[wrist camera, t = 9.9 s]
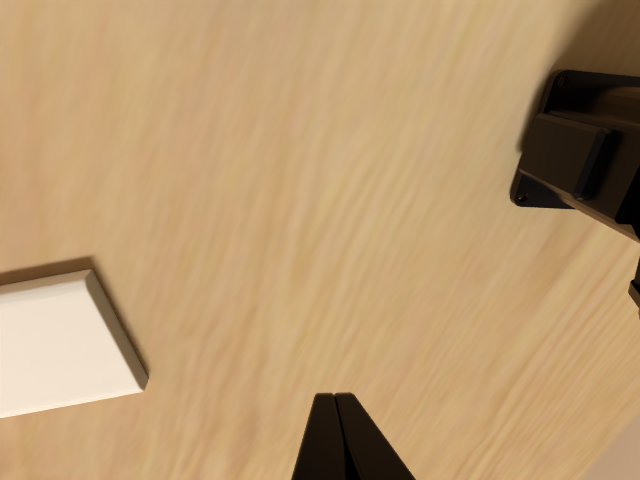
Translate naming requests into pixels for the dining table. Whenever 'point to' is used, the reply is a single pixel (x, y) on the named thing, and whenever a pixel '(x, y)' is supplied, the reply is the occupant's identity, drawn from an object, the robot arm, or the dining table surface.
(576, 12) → the dining table surface
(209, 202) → the dining table surface
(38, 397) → the external hard drive
